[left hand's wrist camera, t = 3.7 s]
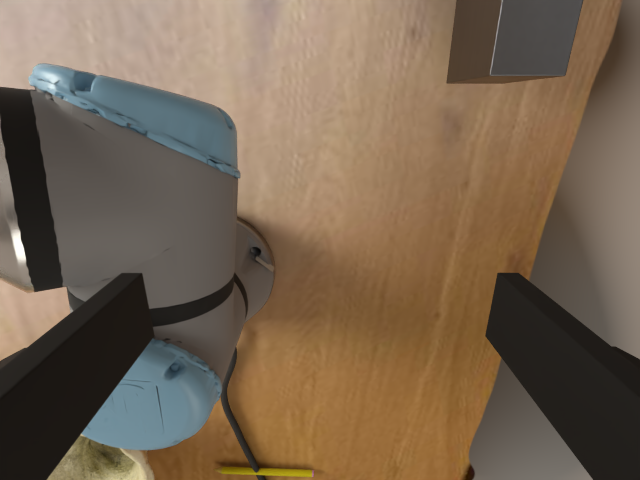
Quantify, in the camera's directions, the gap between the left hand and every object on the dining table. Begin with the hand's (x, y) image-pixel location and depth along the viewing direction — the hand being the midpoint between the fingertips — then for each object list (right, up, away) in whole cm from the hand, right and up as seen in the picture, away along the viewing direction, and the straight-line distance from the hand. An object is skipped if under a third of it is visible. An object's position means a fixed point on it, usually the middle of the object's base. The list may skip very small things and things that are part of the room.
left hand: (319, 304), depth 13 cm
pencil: (-9, -36, +44) cm, 57 cm away
